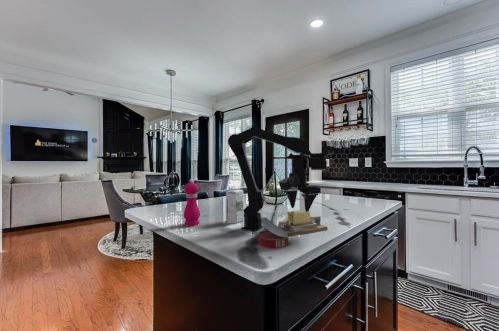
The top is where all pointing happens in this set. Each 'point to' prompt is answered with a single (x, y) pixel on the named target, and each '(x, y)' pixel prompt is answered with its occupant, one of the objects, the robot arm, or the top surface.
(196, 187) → the pepper mill
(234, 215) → the syrup box
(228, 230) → the top surface
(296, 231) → the shaft board
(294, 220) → the block
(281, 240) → the canned food
